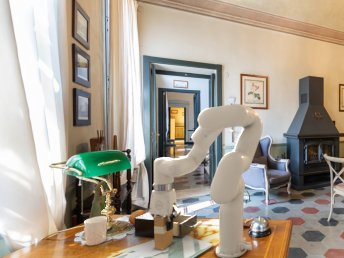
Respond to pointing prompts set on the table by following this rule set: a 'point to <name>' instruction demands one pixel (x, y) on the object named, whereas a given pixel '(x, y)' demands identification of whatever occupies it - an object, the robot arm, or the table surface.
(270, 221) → the table surface
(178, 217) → the drawer
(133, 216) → the fruit
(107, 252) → the table surface
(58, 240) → the table surface
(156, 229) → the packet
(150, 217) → the cabinet
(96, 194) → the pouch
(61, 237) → the table surface
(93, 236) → the white cup
